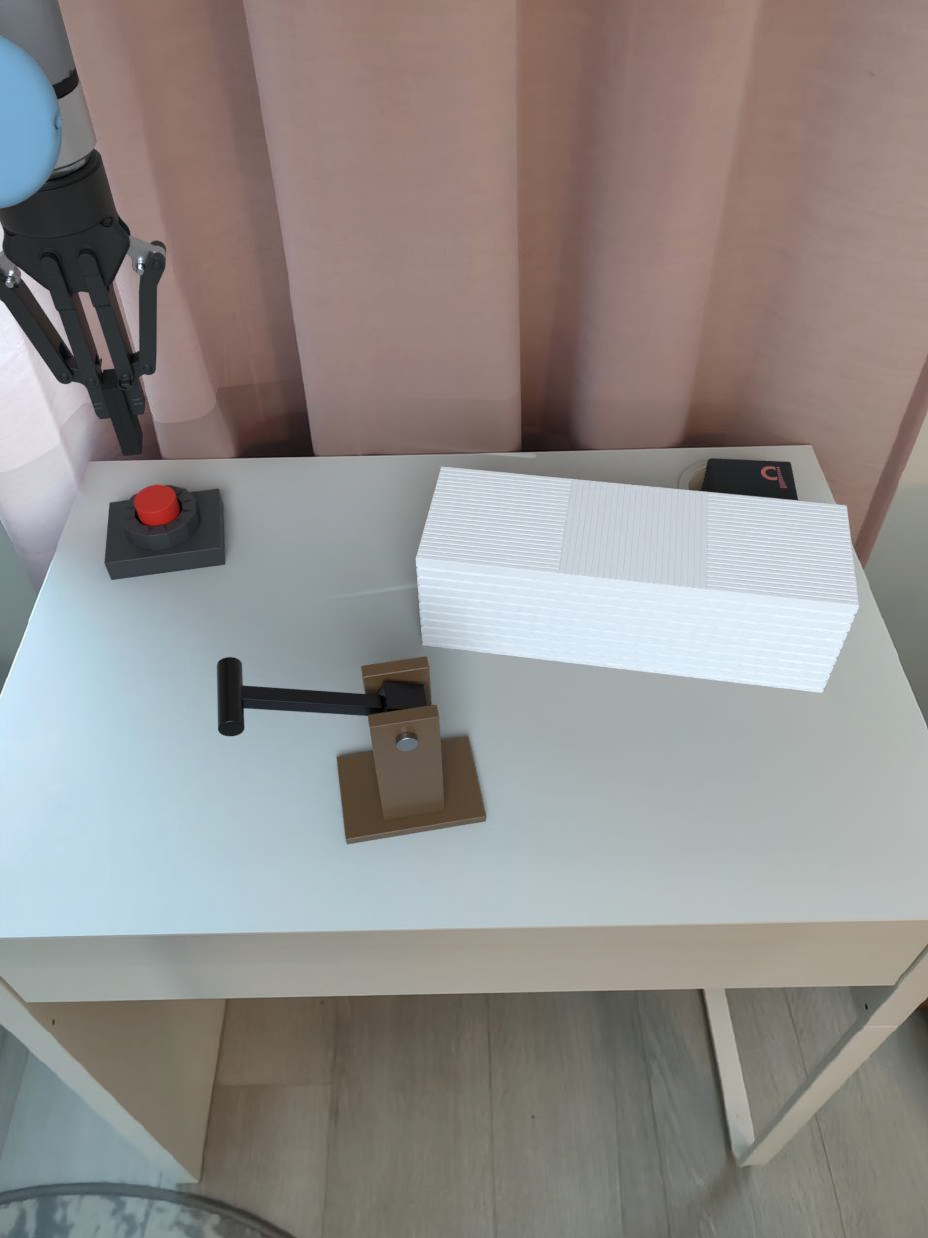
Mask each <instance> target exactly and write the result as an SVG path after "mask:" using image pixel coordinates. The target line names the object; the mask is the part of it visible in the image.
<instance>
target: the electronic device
mask: <svg viewBox="0 0 928 1238" xmlns="http://www.w3.org/2000/svg"><path fill="white" fill-rule="evenodd" d="M700 491H704V492H714V493H725V494H735V495H746V496H756V497H767V498H777V499H787V500H798V501H799V497H798V491H797V487H796V481H795V477H794V472H793V466H792V462H790V461H781V460H779V461H778V460H760V459H736V458H718V457H717V458H715V457H714V458H713V457H712V458H709V459H707V462H706V467H705V472H704V476H703V480H702V485H701V490H700Z"/></svg>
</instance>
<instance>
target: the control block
mask: <svg viewBox="0 0 928 1238" xmlns="http://www.w3.org/2000/svg"><path fill="white" fill-rule="evenodd" d="M164 485H165V486H168V487H170V488H172V489H173V490H174V492H175V494H176V497H177V500H178V504H179V507H180V513H179V515H178V517H177V518H176V519H175V520H173V521H171V522H169V523H167V524H165V525H159V526H148V525H145V524H144V523H142V522H141V521H140V519H139V516H138V513H137V511H136V508H135V505H134V499H135V496H136V495H137V494H138V493H139V492H137V493H135V494H133V495H132V496H131V497H130V498H129V499H126V500H124V499H123V500H118V501H110V502H109V503H108V515H107V526H106V527H107V529H106V539H105V540H106V541H105V551H104V553H105V554H104V566H105V568H106V571H107V574H108V575H109V578H110V581H117V580H122V579H130V578H136V577H137V578H138V577H145V576H152V575H153V576H154V575H161V574H168V573H175V572H181V571H189V570H197V569H203V568H205V569H206V568H210V567H219V566H225V565H226V549H225V548H226V546H225V545H226V543H225V514H224V513H225V512H224V503H223V499H222V494H221V491H220V488H212V489H203V490H196V491H190V490H189V491H188V489H187V488H184V487H180V486H176V485H172V484H164Z"/></svg>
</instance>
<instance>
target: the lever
mask: <svg viewBox="0 0 928 1238" xmlns="http://www.w3.org/2000/svg"><path fill="white" fill-rule="evenodd" d="M243 677H244V676H243V663H242V661H241V660H240V659H239V658H237V657H234V656H226V657H223V658H221V659H219V660H218V661H217V663H216V705H217V707H216V708H217V709H216V710H217V732H218V733H219V734H220V735H222V736H225V737H236V736H240V735H241V734H243V733H244V731H245V709H248V710H262V711H263V710H264V711H277V712H278V711H280V712H281V711H282V712H298V713H314V714H328V715H329V714H330V715H347V716H359V717H360V716H361V717H368V715H371V714H377V713H384V712H390V711H397V710H403V709H410V708H416V707H423V706H428V704H427V699H426V693H425V688H424V685H423V684H411V683H397V682H383V684H382V686H381V689H380V691H379V693H378V695H374V694H365V693H360V692H359V693H358V692H357V693H356V692H344V691H328V690H315V689H300V688H286V687H285V688H284V687H273V686H272V687H271V686H270V687H269V686H258V685H257V686H256V685H244V678H243Z"/></svg>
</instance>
